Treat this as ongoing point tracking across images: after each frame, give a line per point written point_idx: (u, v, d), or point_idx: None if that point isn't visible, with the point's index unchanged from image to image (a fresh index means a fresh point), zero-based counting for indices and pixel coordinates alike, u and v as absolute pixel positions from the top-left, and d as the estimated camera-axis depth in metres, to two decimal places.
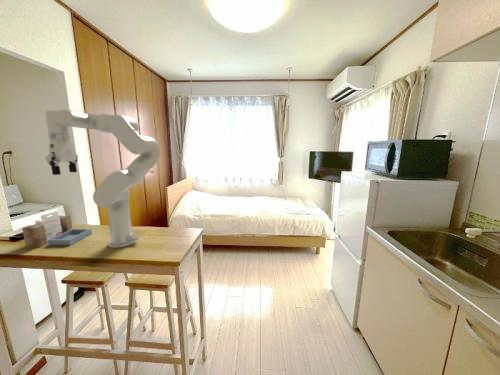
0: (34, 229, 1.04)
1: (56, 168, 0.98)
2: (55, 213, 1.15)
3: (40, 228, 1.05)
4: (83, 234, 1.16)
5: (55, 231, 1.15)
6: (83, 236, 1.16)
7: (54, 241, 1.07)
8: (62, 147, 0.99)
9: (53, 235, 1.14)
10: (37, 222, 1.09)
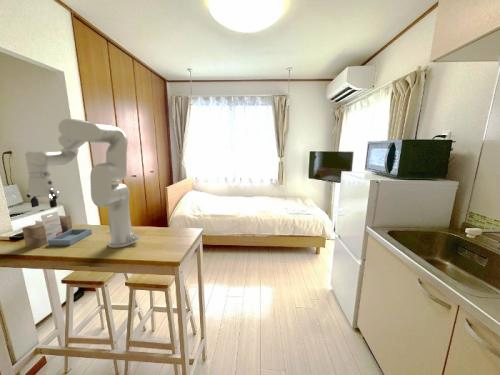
0: (34, 229, 1.04)
1: None
2: (55, 213, 1.15)
3: (40, 228, 1.05)
4: (83, 234, 1.16)
5: (55, 231, 1.15)
6: (83, 236, 1.16)
7: (54, 241, 1.07)
8: None
9: (53, 235, 1.14)
10: (37, 222, 1.09)
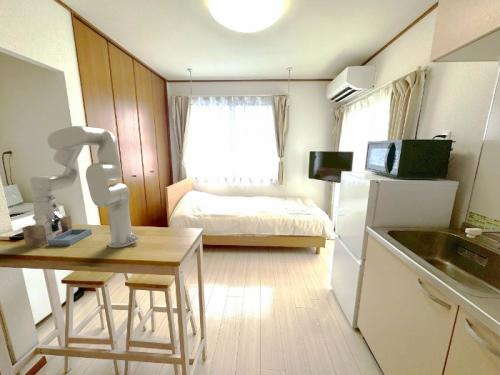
0: (34, 229, 1.04)
1: None
2: None
3: (40, 228, 1.05)
4: (83, 234, 1.16)
5: (55, 231, 1.15)
6: (83, 236, 1.16)
7: (54, 241, 1.07)
8: None
9: (53, 235, 1.14)
10: (37, 222, 1.09)
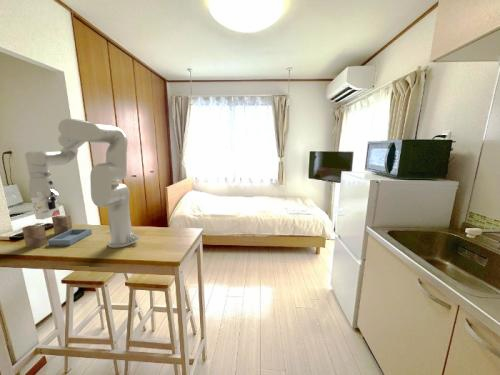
0: (34, 229, 1.04)
1: None
2: None
3: (40, 228, 1.05)
4: (83, 234, 1.16)
5: (52, 209, 1.13)
6: (83, 236, 1.16)
7: (54, 241, 1.07)
8: None
9: (50, 213, 1.12)
10: (33, 199, 1.07)
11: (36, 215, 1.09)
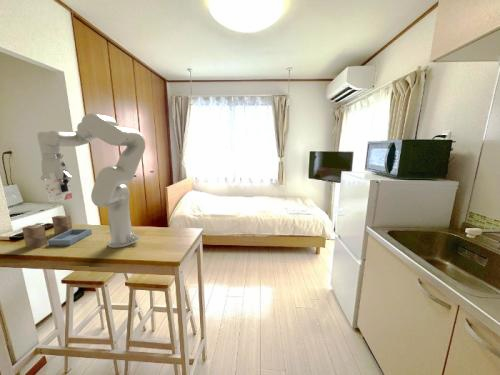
0: (34, 229, 1.04)
1: None
2: None
3: (40, 228, 1.05)
4: (83, 234, 1.16)
5: (65, 192, 1.10)
6: (83, 236, 1.16)
7: (54, 241, 1.07)
8: None
9: (62, 195, 1.09)
10: (46, 180, 1.05)
11: (49, 197, 1.06)
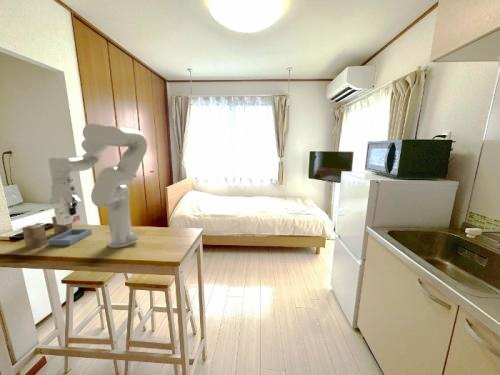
0: (34, 229, 1.04)
1: None
2: None
3: (40, 228, 1.05)
4: (83, 234, 1.16)
5: (73, 215, 1.12)
6: (83, 236, 1.16)
7: (54, 241, 1.07)
8: None
9: (71, 218, 1.11)
10: (55, 204, 1.07)
11: (57, 221, 1.09)
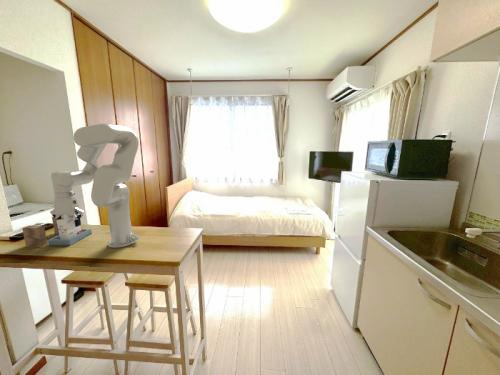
0: (34, 229, 1.04)
1: None
2: None
3: (40, 228, 1.05)
4: (83, 234, 1.16)
5: (76, 230, 1.15)
6: (83, 236, 1.16)
7: (54, 241, 1.07)
8: None
9: (74, 234, 1.14)
10: (59, 222, 1.08)
11: (61, 237, 1.10)
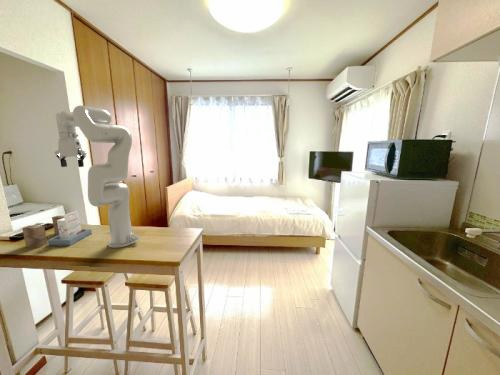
0: (34, 229, 1.04)
1: None
2: (75, 212, 1.14)
3: (40, 228, 1.05)
4: (83, 234, 1.16)
5: (76, 231, 1.15)
6: (83, 236, 1.16)
7: (54, 241, 1.07)
8: None
9: (74, 234, 1.14)
10: (59, 222, 1.08)
11: (61, 237, 1.10)
